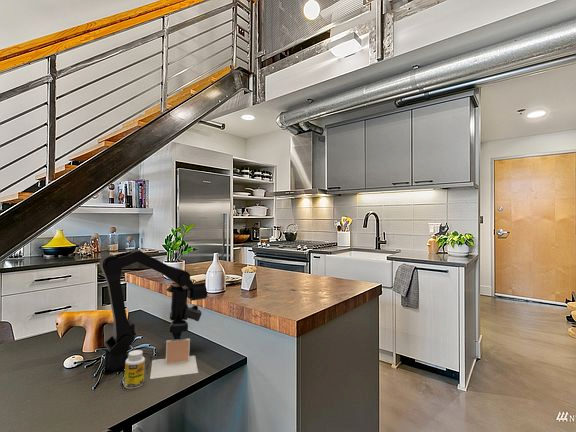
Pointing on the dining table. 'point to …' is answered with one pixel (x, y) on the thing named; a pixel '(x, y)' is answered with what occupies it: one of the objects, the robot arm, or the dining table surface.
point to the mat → (173, 368)
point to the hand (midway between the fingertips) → (177, 342)
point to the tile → (177, 351)
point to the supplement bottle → (134, 369)
